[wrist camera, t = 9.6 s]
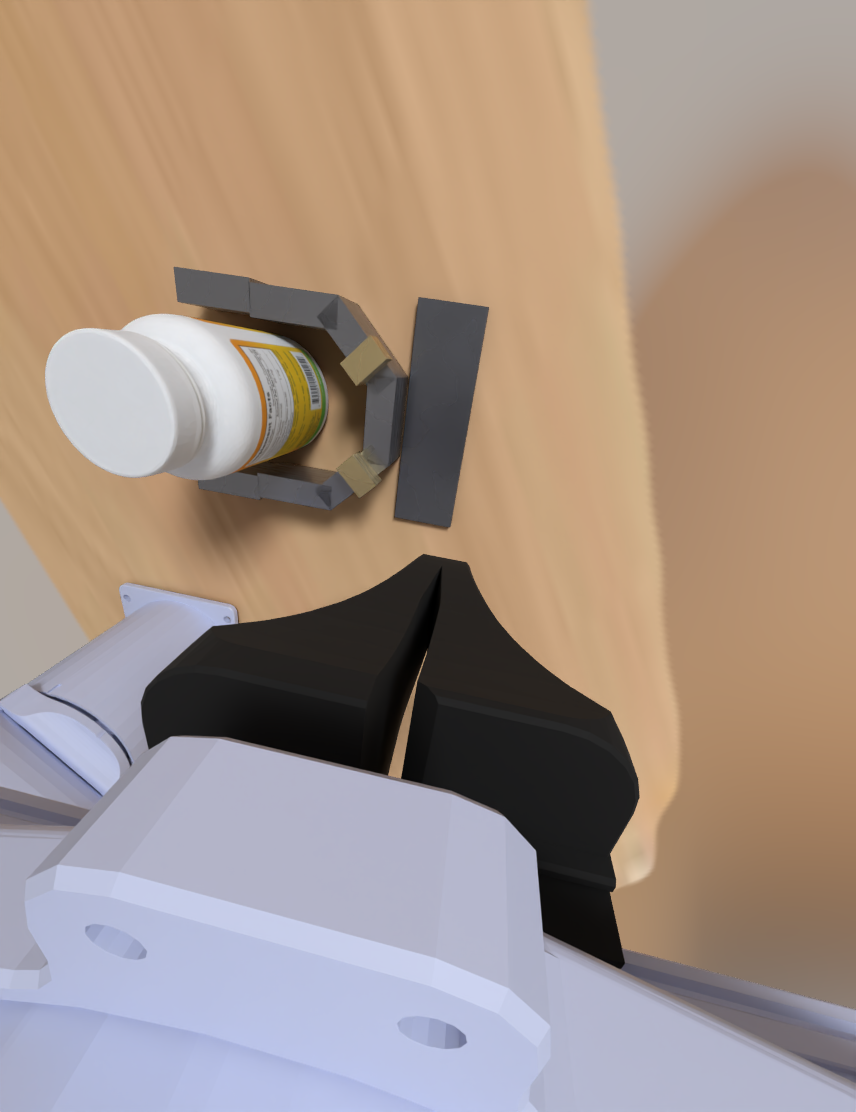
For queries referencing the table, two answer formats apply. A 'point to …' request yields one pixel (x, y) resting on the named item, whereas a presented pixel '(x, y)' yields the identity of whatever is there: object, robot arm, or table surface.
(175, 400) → the supplement bottle
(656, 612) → the table surface
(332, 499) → the socket
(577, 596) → the table surface
